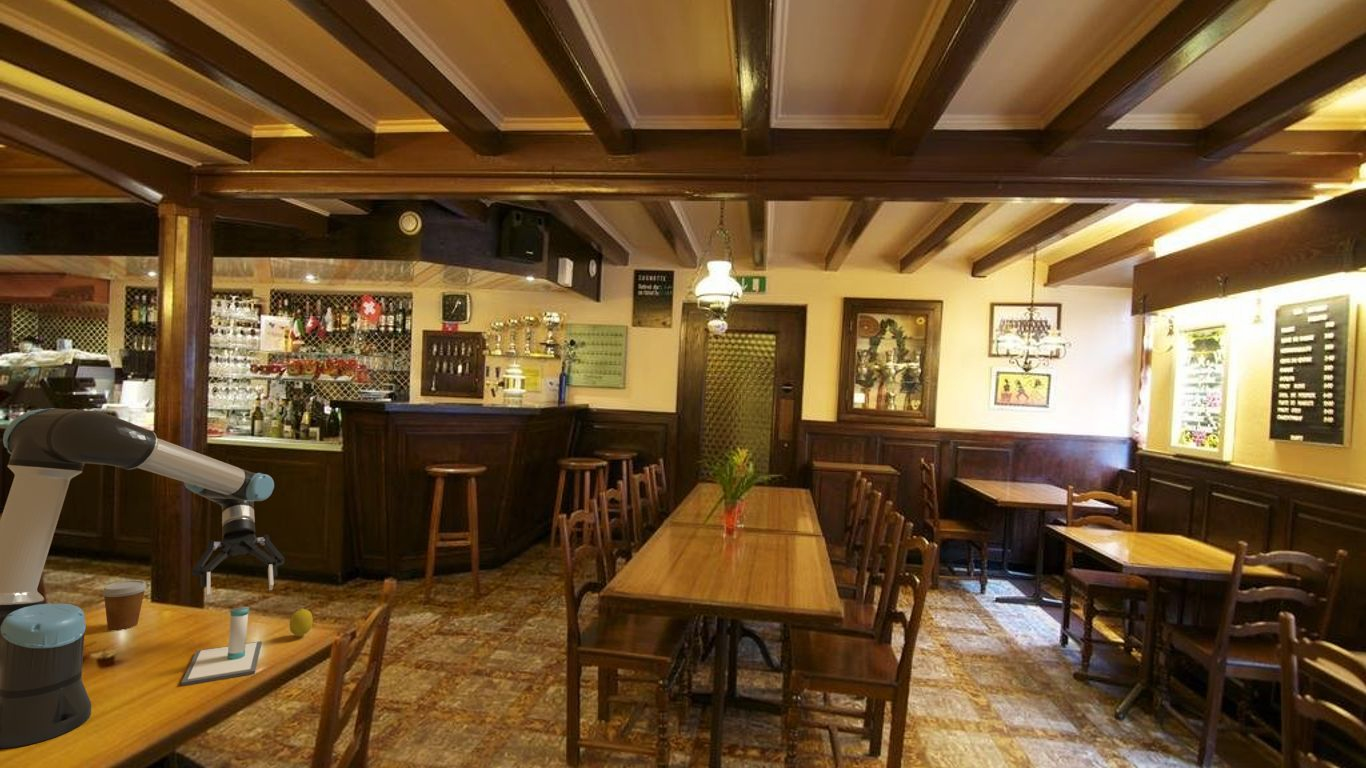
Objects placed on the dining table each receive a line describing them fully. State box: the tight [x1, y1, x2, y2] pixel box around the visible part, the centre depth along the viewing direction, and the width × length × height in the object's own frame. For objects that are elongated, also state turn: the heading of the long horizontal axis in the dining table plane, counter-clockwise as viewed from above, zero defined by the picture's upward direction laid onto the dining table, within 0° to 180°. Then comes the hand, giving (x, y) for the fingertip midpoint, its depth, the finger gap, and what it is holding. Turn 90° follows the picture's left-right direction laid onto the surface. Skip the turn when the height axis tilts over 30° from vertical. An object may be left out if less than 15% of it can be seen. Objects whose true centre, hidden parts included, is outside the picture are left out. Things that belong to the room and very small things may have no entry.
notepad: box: [180, 640, 263, 687], centre depth 152 cm, size 14×20×1 cm
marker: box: [227, 606, 250, 659], centre depth 154 cm, size 4×4×12 cm
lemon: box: [289, 607, 314, 638], centre depth 170 cm, size 6×6×8 cm
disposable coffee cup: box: [101, 579, 148, 631], centre depth 173 cm, size 10×10×12 cm
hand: (240, 592), depth 160 cm, fingers open, 13 cm apart
